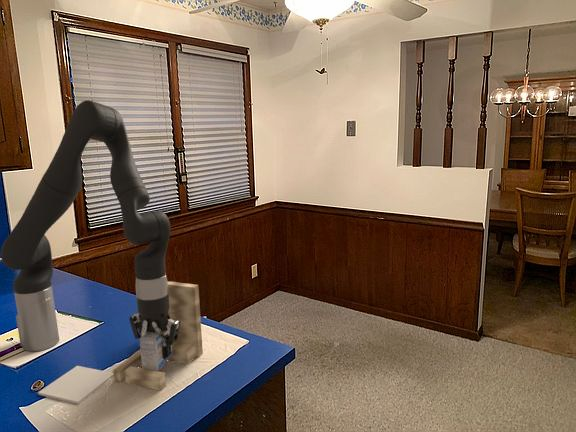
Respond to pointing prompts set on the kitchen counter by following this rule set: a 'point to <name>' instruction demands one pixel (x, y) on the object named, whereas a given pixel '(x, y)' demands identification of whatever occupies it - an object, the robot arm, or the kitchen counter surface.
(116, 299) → the kitchen counter surface
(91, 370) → the grey mat
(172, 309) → the slotted stand
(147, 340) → the medicine box
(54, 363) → the kitchen counter surface
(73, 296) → the kitchen counter surface
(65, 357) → the kitchen counter surface
